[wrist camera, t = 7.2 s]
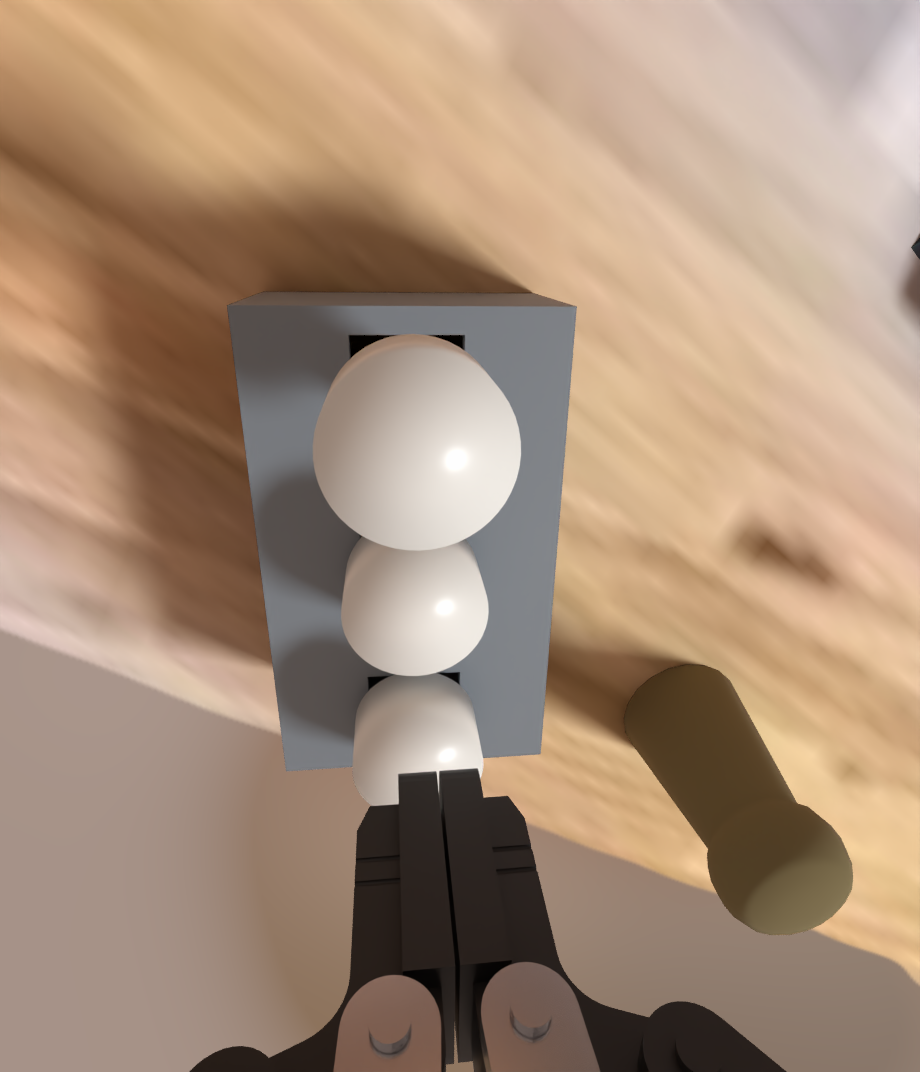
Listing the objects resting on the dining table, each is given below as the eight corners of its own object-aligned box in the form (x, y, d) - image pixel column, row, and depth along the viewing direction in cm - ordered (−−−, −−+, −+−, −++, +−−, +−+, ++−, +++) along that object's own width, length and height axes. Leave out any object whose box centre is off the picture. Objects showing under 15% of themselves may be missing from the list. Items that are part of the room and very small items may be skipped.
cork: (744, 734, 35) (888, 929, 25) (638, 772, 35) (738, 980, 25) (725, 648, 32) (877, 826, 22) (611, 689, 33) (711, 884, 23)
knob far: (358, 592, 28) (348, 721, 21) (458, 588, 29) (485, 713, 21) (363, 675, 30) (355, 822, 22) (457, 670, 31) (481, 812, 23)
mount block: (263, 291, 24) (227, 305, 18) (533, 293, 25) (576, 306, 19) (303, 677, 30) (286, 771, 25) (513, 666, 31) (540, 754, 26)
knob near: (334, 310, 20) (303, 349, 13) (473, 310, 21) (526, 349, 13) (343, 446, 22) (320, 554, 14) (471, 444, 23) (516, 547, 15)
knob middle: (350, 460, 26) (336, 551, 18) (460, 458, 26) (490, 546, 19) (356, 559, 28) (345, 679, 20) (458, 555, 28) (486, 672, 20)
